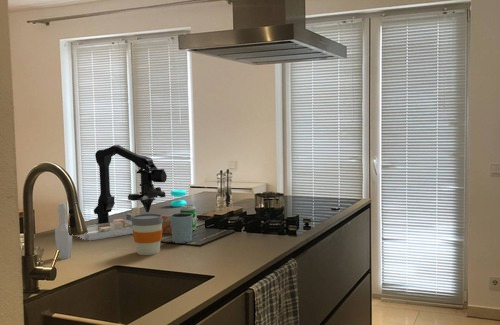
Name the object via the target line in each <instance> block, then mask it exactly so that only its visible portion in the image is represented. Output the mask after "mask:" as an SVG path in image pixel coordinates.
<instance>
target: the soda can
mask: <svg viewBox="0 0 500 325" xmlns="http://www.w3.org/2000/svg"><path fill="white" fill-rule="evenodd" d="M179 208H180V209H179V210H180V212H179V213H191V214H193V220H192V232H194V231H195V230H196V229H197V215H196V214H197V208H196V207H195V205H192V204H188V205H184V206H182V207H179ZM193 230H194V231H193Z"/></svg>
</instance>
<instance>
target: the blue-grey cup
mask: <svg viewBox="0 0 500 325" xmlns="http://www.w3.org/2000/svg"><path fill="white" fill-rule="evenodd" d="M169 216H170V219H171V228H172V234H171V236H172V238H171V239H172V240H171V241H172V243H174V242H175V243H174V244H186V243H185V242H188V243H190V241H191V242H192V239H193V238H192V236H193V231H192V220H193V214H191V213H180V212H175V213H172V214H170V215H169Z"/></svg>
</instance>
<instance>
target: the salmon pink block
mask: <svg viewBox="0 0 500 325" xmlns="http://www.w3.org/2000/svg"><path fill="white" fill-rule="evenodd" d="M125 220H126V219H122V218H118V219H117V218H116V219H112V222H122V223H123V226H125Z"/></svg>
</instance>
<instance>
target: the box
mask: <svg viewBox="0 0 500 325" xmlns="http://www.w3.org/2000/svg"><path fill="white" fill-rule="evenodd" d="M87 230H88V233H94V232H101V231H98V226H96V227H89V228H87ZM88 233H87V234H88ZM87 234H84V235H80V238H79V239H81V238H82V239H81V240H83V239H84V240H83V241H87V240H86V239H87ZM78 237H79V236H78ZM78 237H77V238H78Z"/></svg>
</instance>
